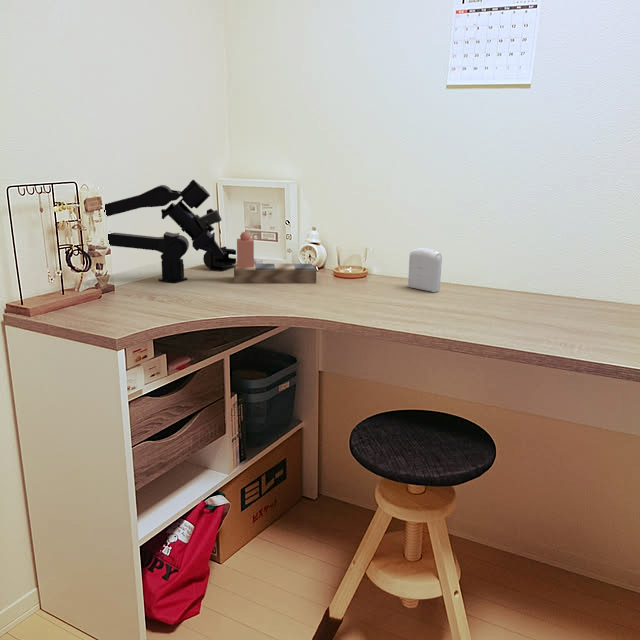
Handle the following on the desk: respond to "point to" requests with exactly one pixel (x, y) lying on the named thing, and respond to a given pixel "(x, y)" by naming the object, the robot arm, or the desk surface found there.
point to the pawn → (245, 251)
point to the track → (275, 273)
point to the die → (258, 261)
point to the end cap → (220, 260)
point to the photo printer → (425, 269)
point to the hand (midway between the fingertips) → (223, 256)
